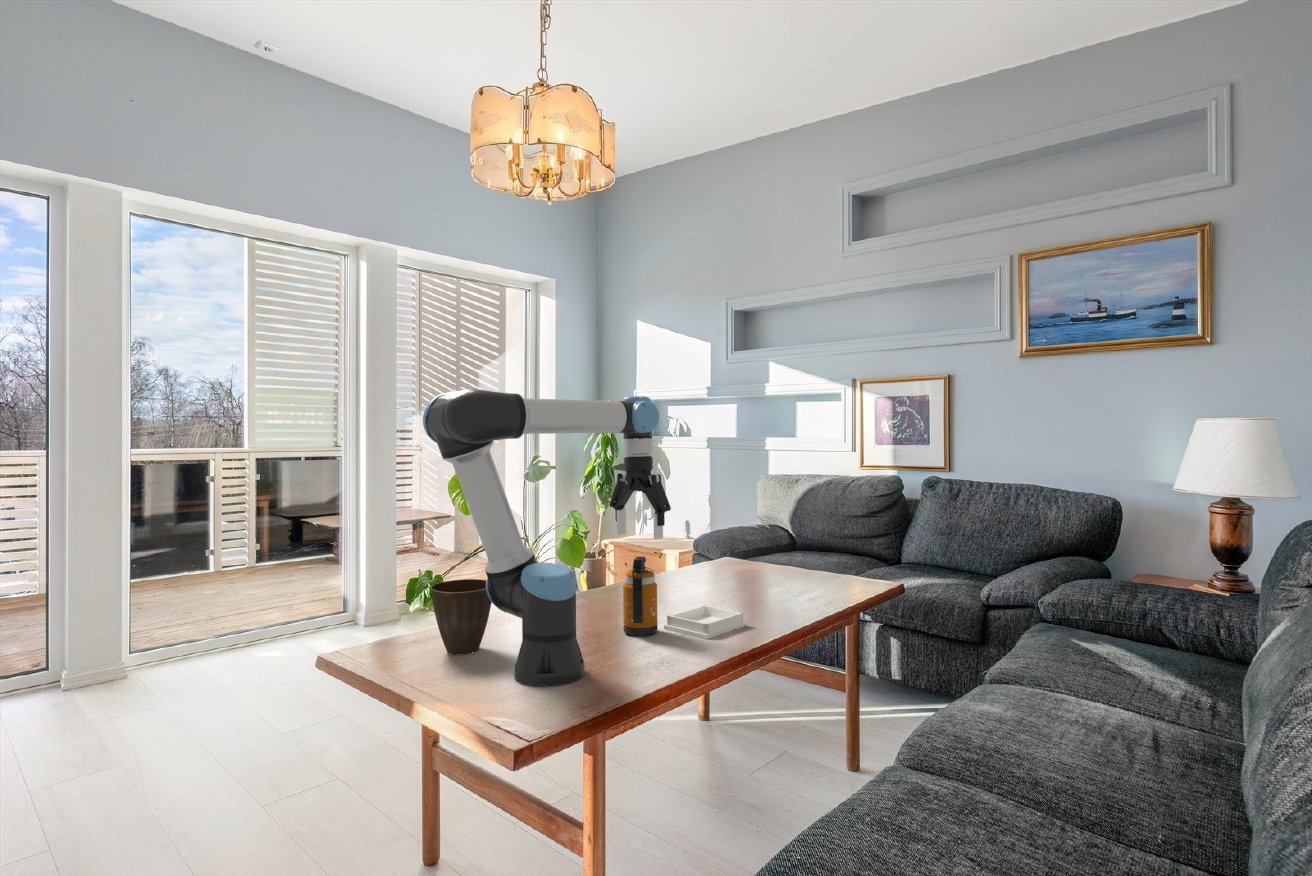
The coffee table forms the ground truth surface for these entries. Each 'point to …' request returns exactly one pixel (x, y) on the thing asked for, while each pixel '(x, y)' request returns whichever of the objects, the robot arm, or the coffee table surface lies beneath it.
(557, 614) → the robot arm
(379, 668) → the coffee table surface
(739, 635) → the coffee table surface
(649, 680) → the coffee table surface
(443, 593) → the plant pot
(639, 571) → the canister
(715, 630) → the tray
